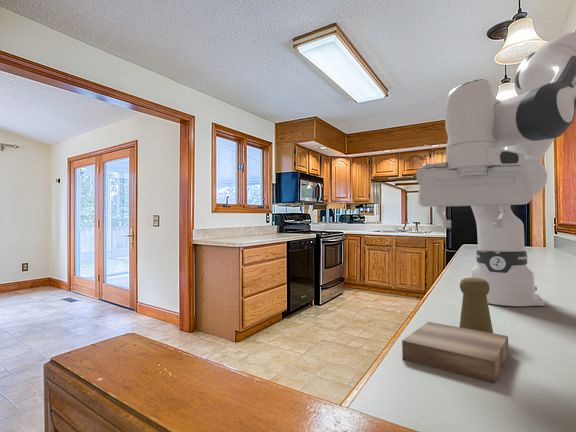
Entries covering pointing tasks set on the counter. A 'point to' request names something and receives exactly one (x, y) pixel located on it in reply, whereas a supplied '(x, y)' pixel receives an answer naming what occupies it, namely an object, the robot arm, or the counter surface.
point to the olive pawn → (475, 305)
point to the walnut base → (457, 350)
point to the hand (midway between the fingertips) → (472, 228)
